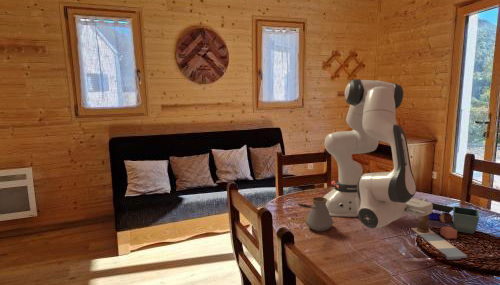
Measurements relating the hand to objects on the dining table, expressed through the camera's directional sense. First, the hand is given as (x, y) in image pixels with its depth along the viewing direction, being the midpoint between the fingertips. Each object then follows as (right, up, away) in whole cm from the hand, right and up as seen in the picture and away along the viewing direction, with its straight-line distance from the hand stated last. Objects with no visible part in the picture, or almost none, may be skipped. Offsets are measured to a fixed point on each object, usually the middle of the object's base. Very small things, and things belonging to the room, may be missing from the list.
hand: (411, 197), depth 126 cm
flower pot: (+27, -16, +11) cm, 33 cm away
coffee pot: (-34, -17, +15) cm, 41 cm away
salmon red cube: (+17, -17, +6) cm, 25 cm away
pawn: (+10, -15, +10) cm, 21 cm away
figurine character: (+21, -14, +23) cm, 34 cm away
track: (+10, -18, +2) cm, 21 cm away
